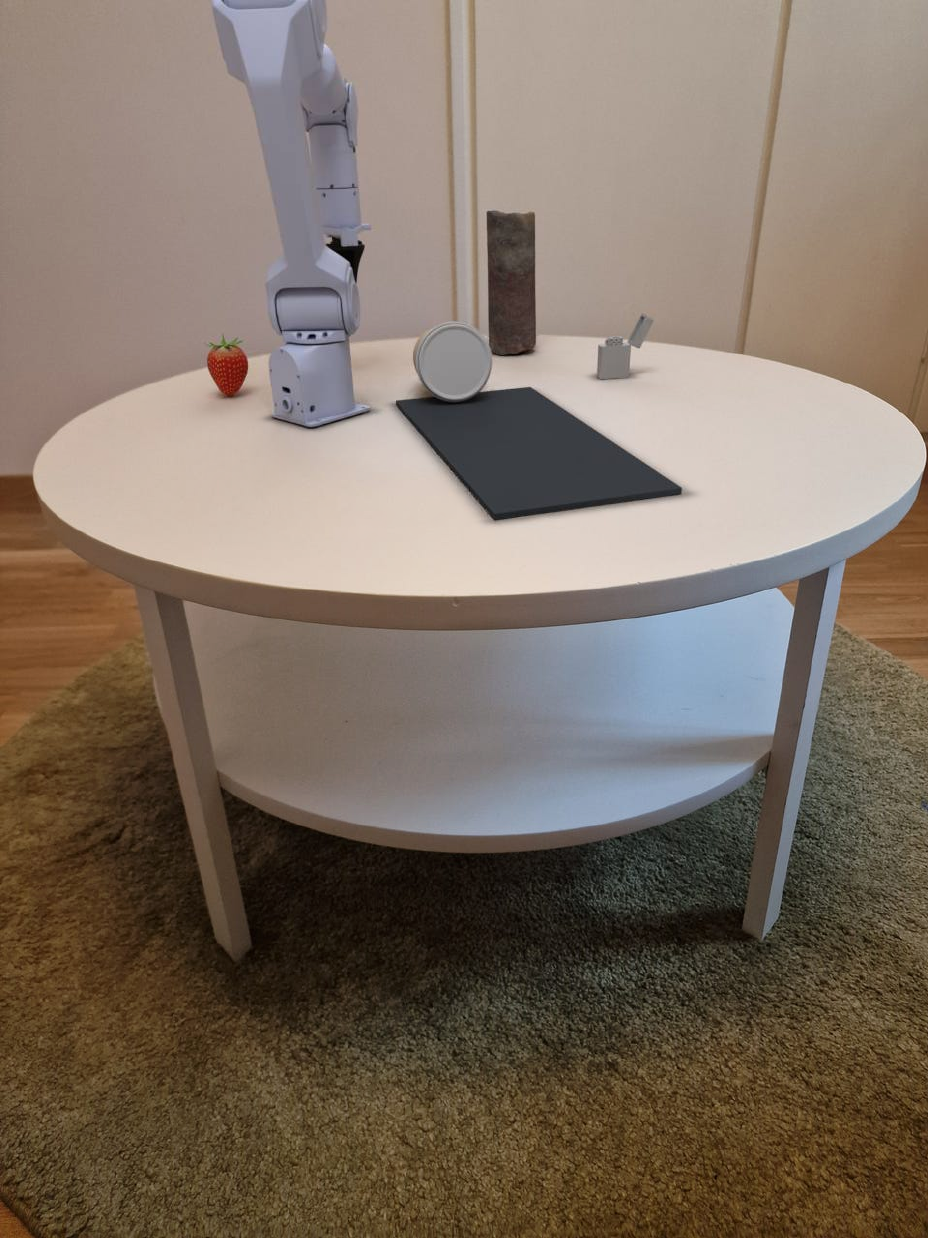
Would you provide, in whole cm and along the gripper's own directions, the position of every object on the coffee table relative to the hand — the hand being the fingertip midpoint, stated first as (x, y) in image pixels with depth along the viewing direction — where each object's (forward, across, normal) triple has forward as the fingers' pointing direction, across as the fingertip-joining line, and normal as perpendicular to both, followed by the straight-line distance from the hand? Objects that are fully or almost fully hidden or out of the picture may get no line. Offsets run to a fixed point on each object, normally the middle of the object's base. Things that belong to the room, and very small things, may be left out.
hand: (346, 299), depth 116 cm
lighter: (+11, -15, -35) cm, 39 cm away
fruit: (+11, -5, +17) cm, 21 cm away
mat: (+10, -38, -11) cm, 41 cm away
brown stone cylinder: (+11, +7, -26) cm, 29 cm away
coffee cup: (+7, -10, -10) cm, 16 cm away
